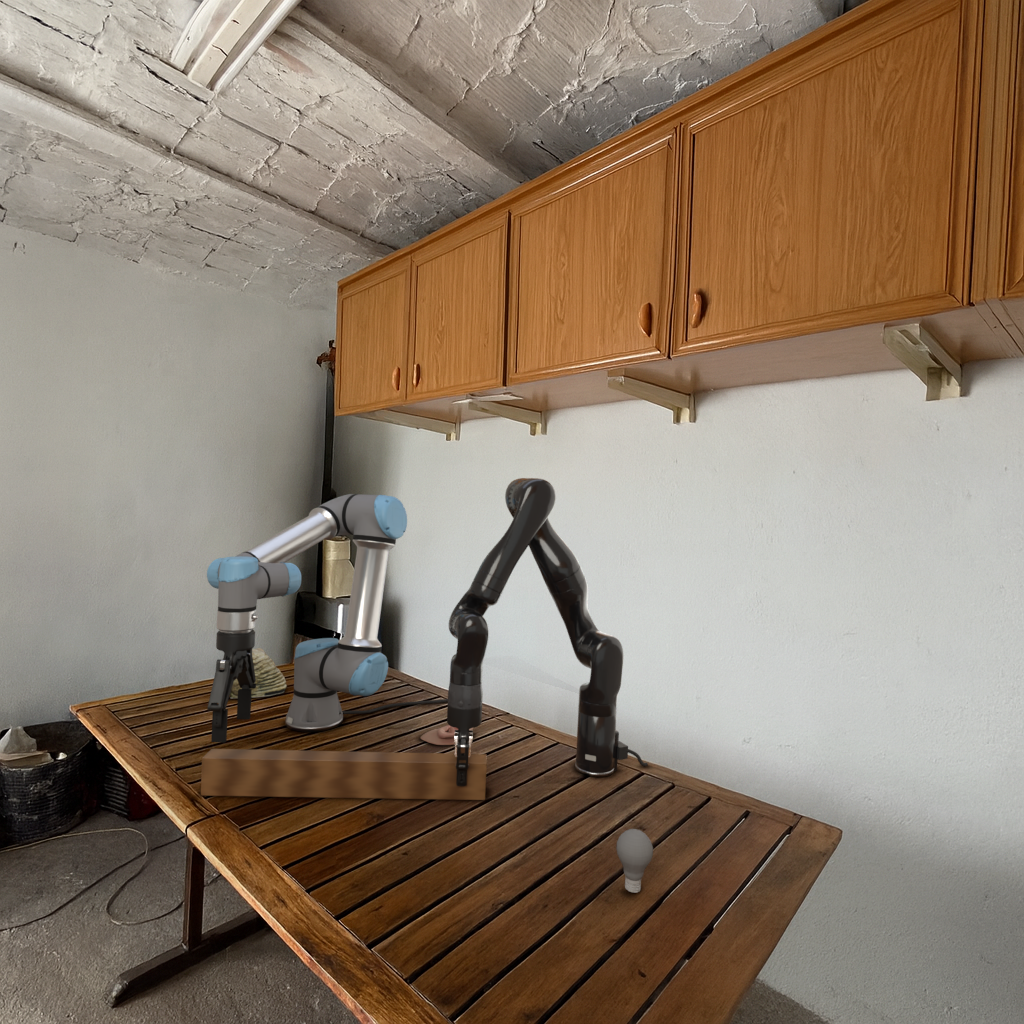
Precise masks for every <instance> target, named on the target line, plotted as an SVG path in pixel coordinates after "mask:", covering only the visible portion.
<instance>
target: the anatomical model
mask: <svg viewBox="0 0 1024 1024" xmlns="http://www.w3.org/2000/svg"><path fill="white" fill-rule="evenodd" d="M473 729H474V728H471V729H469V730H473ZM455 730H458V728H455V727H452V726H450V725H449V724H448V725H444V726H442V727H439V728H435V729H431V730H429V731H427V732H424V734H422V735H421V736H420V739H421V740H422V741H424V742H427V743H429V744H432V745H437V746H451V745H453V746H454V745H455V742H454V734H455Z"/></svg>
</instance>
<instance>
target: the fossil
mask: <svg viewBox="0 0 1024 1024" xmlns="http://www.w3.org/2000/svg"><path fill="white" fill-rule="evenodd" d="M252 658H253V664H254V671H255V678H256V682H255V683H256V688H255V689H254V688H250V689H252V693H251V699H252V698H264V697H271V696H275V695H281V694H284V693H285V691H286V689H287V687H288V686H287V680H286V678H285V676H284V674H283V673H282V672H281V669H279V668H278V667H277V665H276V663H275V662H274V660H273V659H272V658H271V657H270V656H269V655H268V654H267V653H266V652H265V650H264V649H263V648H260V647H258V648H252ZM239 689H242V688H240V686H239V683H238V680H237V679H236V680H234V682H233V686H232V689H231V693H230V696H229V699H238V690H239Z"/></svg>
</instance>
